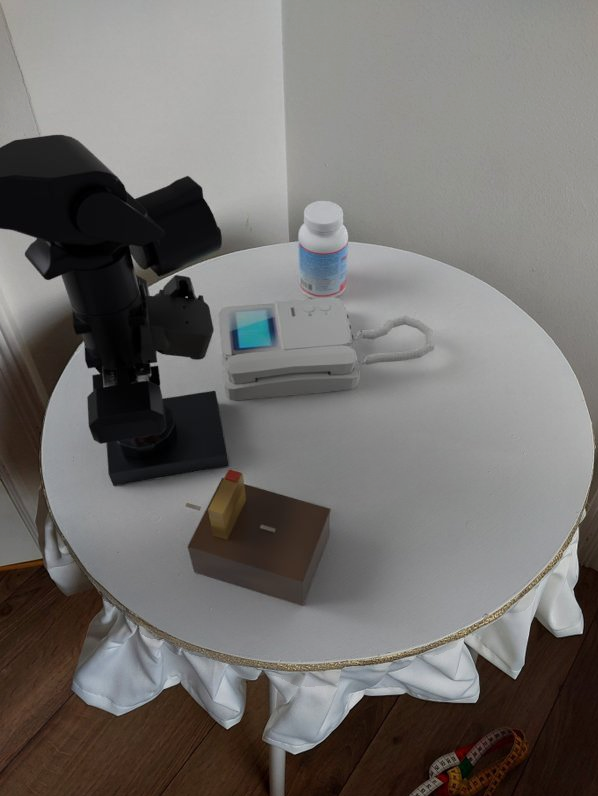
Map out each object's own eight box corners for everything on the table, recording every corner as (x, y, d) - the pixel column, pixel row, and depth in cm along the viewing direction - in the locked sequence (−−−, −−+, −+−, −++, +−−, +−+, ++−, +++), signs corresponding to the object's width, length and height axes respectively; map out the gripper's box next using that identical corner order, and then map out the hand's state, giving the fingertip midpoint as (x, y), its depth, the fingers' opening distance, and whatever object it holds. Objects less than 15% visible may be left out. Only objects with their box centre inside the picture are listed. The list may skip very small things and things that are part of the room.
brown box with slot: (175, 566, 69) (167, 539, 65) (209, 500, 74) (203, 470, 70) (303, 606, 67) (302, 580, 63) (329, 535, 72) (330, 507, 68)
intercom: (446, 355, 81) (222, 375, 78) (440, 382, 85) (226, 402, 82) (420, 278, 89) (216, 294, 86) (416, 305, 93) (219, 321, 90)
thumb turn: (227, 540, 65) (222, 512, 62) (213, 536, 66) (207, 508, 62) (246, 500, 68) (243, 470, 64) (232, 495, 68) (228, 466, 65)
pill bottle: (351, 297, 93) (356, 223, 84) (306, 306, 92) (306, 231, 83) (337, 267, 97) (340, 193, 88) (293, 275, 95) (292, 201, 86)
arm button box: (112, 486, 75) (104, 463, 71) (108, 420, 80) (100, 396, 77) (229, 466, 77) (225, 443, 73) (217, 403, 82) (213, 379, 79)
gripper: (215, 357, 57) (231, 472, 69) (188, 215, 67) (206, 337, 80) (68, 378, 55) (112, 492, 67) (64, 229, 66) (103, 351, 78)
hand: (138, 412), depth 73 cm, fingers closed
